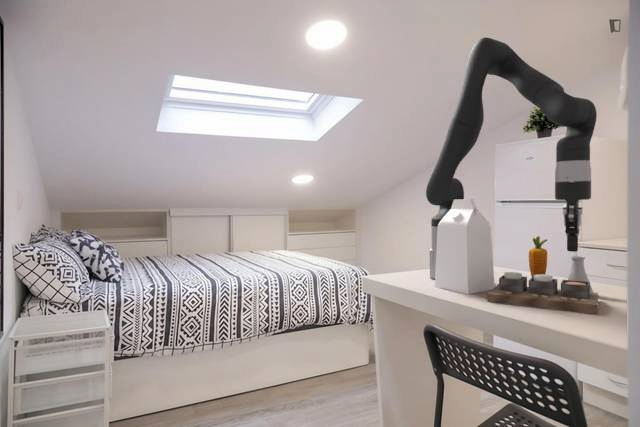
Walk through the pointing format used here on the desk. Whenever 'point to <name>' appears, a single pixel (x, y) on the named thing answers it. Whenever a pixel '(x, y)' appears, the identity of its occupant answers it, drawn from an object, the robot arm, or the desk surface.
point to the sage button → (513, 275)
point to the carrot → (538, 258)
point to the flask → (578, 270)
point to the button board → (545, 295)
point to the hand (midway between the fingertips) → (572, 251)
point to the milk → (464, 250)
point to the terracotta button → (575, 283)
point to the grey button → (543, 278)
